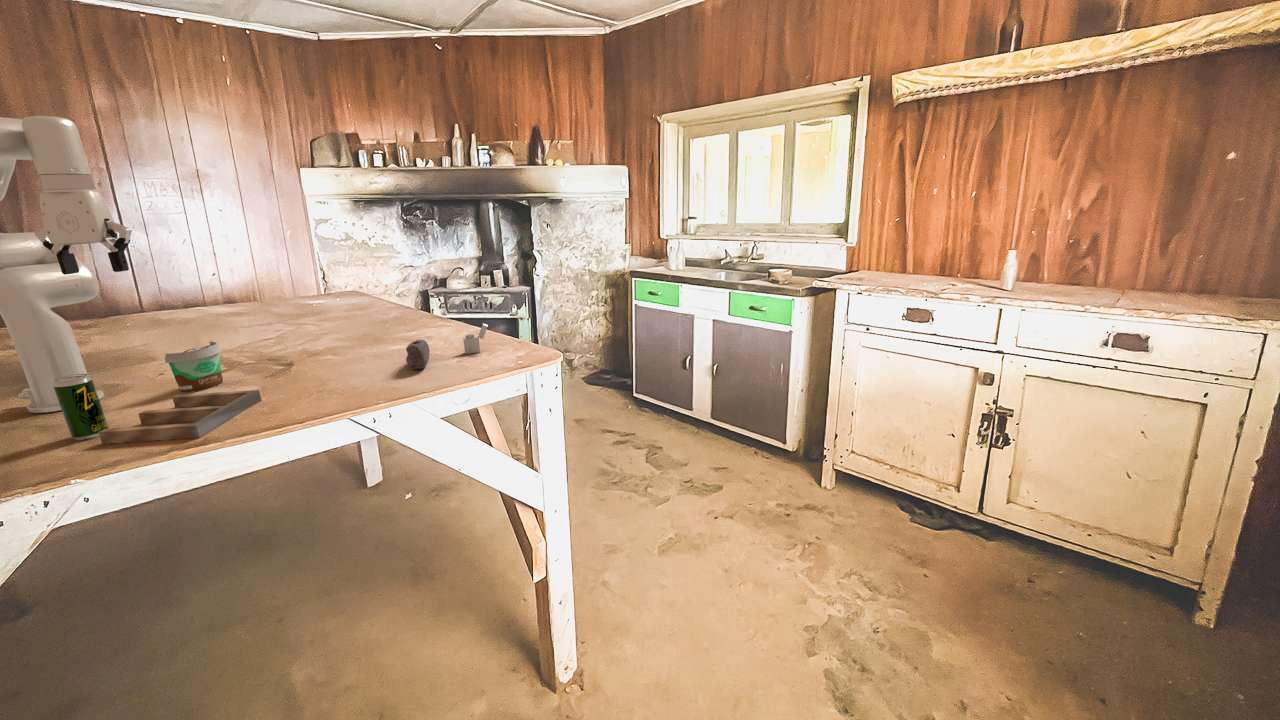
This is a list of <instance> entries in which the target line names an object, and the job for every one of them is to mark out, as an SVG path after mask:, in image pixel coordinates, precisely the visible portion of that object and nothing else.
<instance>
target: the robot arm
mask: <svg viewBox="0 0 1280 720" xmlns="http://www.w3.org/2000/svg"><path fill="white" fill-rule="evenodd" d="M79 132H80V131H79V129H78V126H77V125H76V124H75V122H73V120H70V119H68V118H65V117H61V116H49V115H48V116H47V115H33V116H32V115H31V116H26V117H24V118H22V119H21V118H14V117H12V118H11V117H1V116H0V202H2V200H3V199H4V198H5V196H6V193H7V191H8V188H9V184H10V182H11V178H12V176H13V175H14V174H13V173H14V171H15V168H16V164H17V160H19V161H20V160H21V161H22V160H23V161H33V163H34V164H33V165H34V167H35V170H36V172H37V176H38V179H39V180H36V185H37V186H38V188H39V187H40V188H41V189H42V192H41V193H39V206H40V207H39V208H40V213H41V219H42V223H43V227H42V228H41V229H39V230H38V231H36V232H32V231H31V232H9V233H8V232H7V233H6V232H3V233H2V232H0V316H1V318H2V320H3V322H4V324H5V326H6V330H7V331H8V333H9V336H10V339H11V341H12V343H13V346H14V348H15V351H16V354H17V357H18V359H19V361H20V365H21V367H22V369H23V372H24V375H25V377H26V380H27V383H28V386H29V388H24V389H22V391H21V392H20V393H18V394H17V398H18V399H19V400H26V399H27V400H28V399H29V401H30V403H29V404H28V405H27V406H26V409H27V412H29V413H32V414H42V413H43V414H44V413H52V412H59V411H62V410H61V407H60V404H59V401H58V399H57V396H56V393H55V390H54V388H53V385H54V382H53V380H55V379H57V378H60V377H64V376H69V375H75V374H88V372H87V369H86V366H85V363H84V360H83V358H82V355H81V351H80V348H79V345H78V343H77V340H76V339H77V338H76V337H75V335H74V332H73V329H72V327H71V324H70V323H69V322H68V321H67V320H66V319H65V318H63V317H62V316H60V315H59V314H57V313H56V312H55V311H53V310H52V309H53V308H56V307H61V306H63V307H64V306H69V305H75V304H81V303H84V302H85V303H86V302H89V301H91V300H93V299H95V298H96V297H97V296H98V294H99V292H100V283H99V281H98V279H97V277H96V275H95V273H94V272H92V270H91V269H90V268H89V267H88V266H87V265H86V264H85V263H84V262H83V261H81V260H80V259H79V258H78V257H77V256H75V253H72V252H71V250H72V249H73V246H74V245H89V244H98V243H100V244H102V245H103V246H104V247H105V248H107V250H109V252H107V256H108V259H109V262H110V265H111V268H112V271H113V272H115V273H120V272H126V271H129V270H130V268H129V264H128V263H129V262H128V260H127V257H126V254H125V251H127V249H128V245H129V244H130V243H131V235H132V228H129V227H127V226H125V225H123V224H120V223H117V222H115V221H114V219H113V218H114V217H113V215H112V213H111V210H110V209H109V207H108V204H107V202H106V201H105V199H104V196H102V194H101V192H100V191H97V187H96V185H95V181H94V178H93V175H92V172H91V168H90V165H89V162H88V158H87V155H86V152H85V149H84V145H83V141H82V139H81V136H80V133H79ZM96 392H97V395H98V398H99V400H101V399H102V398H104V396H105V394H104V391H103V390H100V389H96Z"/></svg>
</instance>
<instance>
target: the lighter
mask: <svg viewBox="0 0 1280 720" xmlns="http://www.w3.org/2000/svg"><path fill="white" fill-rule="evenodd" d="M488 326H489V325H488V324H486V323H484V322H483V323H482V325H481V328H480V330H479V333H478V336H475V334H474V333H469V334H468V333H467V334H466V335H465V337H463V338H462V341H463V346H464V347H463V348H464V349H463V350H464V354H465V355H467V354H478V353H481V347H480V341H479V339H481V340H484V337H485V335H486V332H487V330H488Z"/></svg>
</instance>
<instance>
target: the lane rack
mask: <svg viewBox="0 0 1280 720" xmlns="http://www.w3.org/2000/svg"><path fill="white" fill-rule="evenodd" d="M171 398H172V401H173V404H174V405H173V406H174V408H169V409H168V408H165V409H151V410H149V409H148V410H142V411H141V412H138V413H137V414H138V418H139V421H140V424H141V425H142V424H146V425H144V426H131V427H118V428H117V427H116V428H108V429H104V430H102V431H100V432H98V433H99V439H100V441H101V445H102V444H103V445H111V444H110V443H118V444H124V443H123V442H132V443H141V442H140V441H147V442H155V441H154V440H162V441H171V440H170V439H176V440H186V439H185V438H191V439H200V438H202V437H204V436H206V435H207V434H208V433H210V432H212V431H213V429H214V430H215V429H217V428H218V427H221V426H222V425H223V424H225V423H227V422H228V421H230V420H231V418H232V419H233V418H235V417H237V416H239V415H240V414H242V413H243V412H245V411H247V410H248V409H250V408H251V407H253V406H254V404H255V405H256V404H258V403H260V402H261V401H262V396H261V393H260V389H252V390H236V391H234V390H233V391H222V392H219V391H218V392H207V393H206V392H203V393H191V394H190V393H189V394H176V395H175V396H172V397H171ZM260 400H261V401H260ZM259 401H260V402H259ZM257 402H258V403H257ZM224 404H225V405H224ZM210 405H214V406H210ZM252 405H253V406H252ZM191 406H198V407H191ZM180 407H183V408H180ZM249 407H250V408H249ZM247 408H248V409H247ZM244 410H245V411H244ZM242 411H243V412H242ZM239 413H240V414H239ZM236 415H237V416H236ZM234 416H235V417H234ZM229 419H230V420H229ZM187 421H192V423H190V422H189V423H188V422H187ZM226 421H227V422H226ZM170 422H176V424H175V423H174V424H171V423H170ZM157 423H161V424H162V425H158V424H157ZM221 424H222V425H221ZM147 425H150V426H147Z"/></svg>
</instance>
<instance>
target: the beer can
mask: <svg viewBox="0 0 1280 720" xmlns="http://www.w3.org/2000/svg"><path fill="white" fill-rule="evenodd" d="M53 382H54V385H53V388H54V390H55V393H56V396H57V399H58V401H59V404H60V407H61V410H60V411H61V413H62V415H63V417H64V421H65V423H66V426H67V429H68V431H69V434H70V436H71V438H73V439H74V440H75V441H85V440H84V439H87V440H91V439H95V438H99V437H100V436H99V433H98V432H100V431H102V430H104V429H110V428H109V424H108V421H107V419H106V416H105V413H104V410H103V407H102V404H101V399H99V398H98V395H97V392H96V390H97V389H96V386H95V384H94V380H93V378H92V377H90V374H89V373H87V374H75V375H69V376H64V377H60V378H57V379H55V380H53ZM98 436H99V437H98ZM90 438H91V439H90Z"/></svg>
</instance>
